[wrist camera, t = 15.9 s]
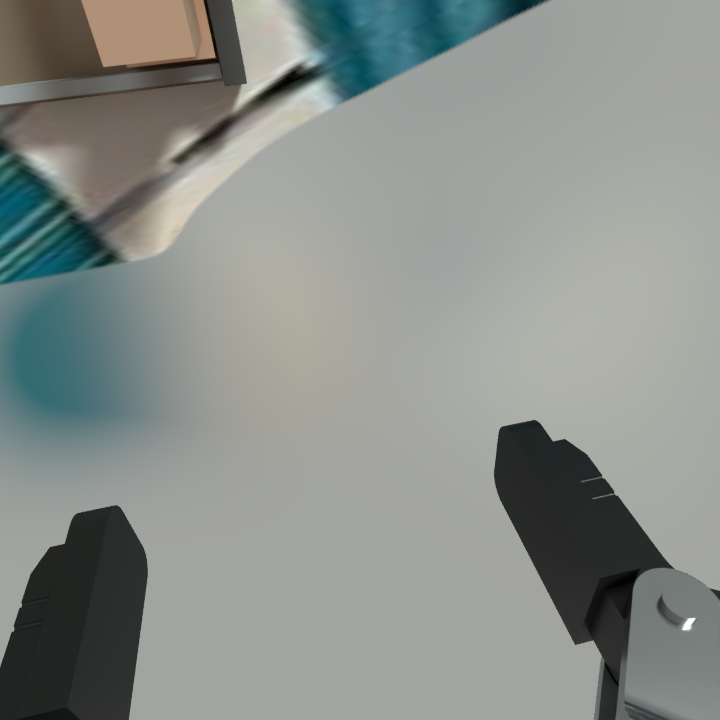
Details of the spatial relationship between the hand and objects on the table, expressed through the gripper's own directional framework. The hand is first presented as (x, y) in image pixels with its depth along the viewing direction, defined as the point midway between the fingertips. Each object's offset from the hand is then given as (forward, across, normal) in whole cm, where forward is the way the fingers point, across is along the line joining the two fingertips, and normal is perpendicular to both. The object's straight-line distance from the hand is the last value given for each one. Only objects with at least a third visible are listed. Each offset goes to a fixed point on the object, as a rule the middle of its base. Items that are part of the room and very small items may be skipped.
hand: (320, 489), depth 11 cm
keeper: (+31, +4, -8) cm, 32 cm away
